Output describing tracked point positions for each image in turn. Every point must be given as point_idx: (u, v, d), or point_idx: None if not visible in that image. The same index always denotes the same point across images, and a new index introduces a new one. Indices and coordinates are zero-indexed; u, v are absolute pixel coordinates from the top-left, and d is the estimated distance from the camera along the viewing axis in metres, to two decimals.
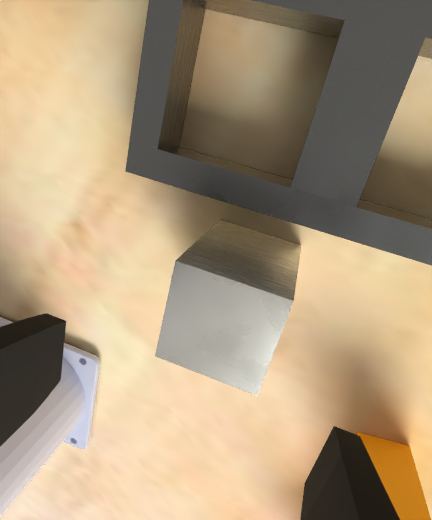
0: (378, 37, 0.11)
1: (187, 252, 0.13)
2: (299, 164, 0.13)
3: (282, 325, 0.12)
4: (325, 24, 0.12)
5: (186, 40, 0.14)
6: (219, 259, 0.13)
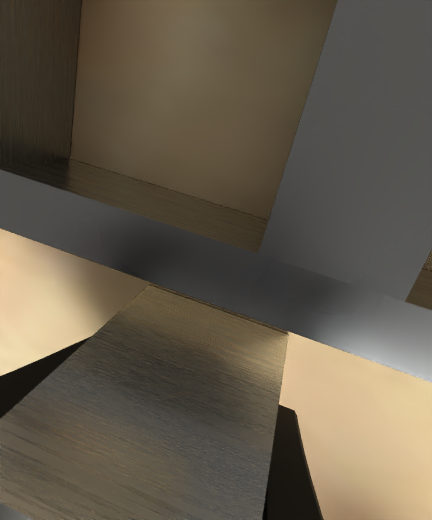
0: None
1: (7, 418, 0.05)
2: (277, 205, 0.06)
3: None
4: None
5: None
6: (84, 432, 0.05)
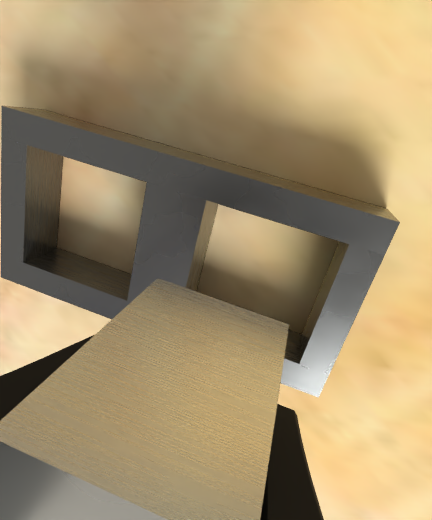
0: (173, 196, 0.14)
1: (38, 391, 0.06)
2: (131, 283, 0.16)
3: None
4: None
5: (41, 176, 0.16)
6: (107, 404, 0.06)
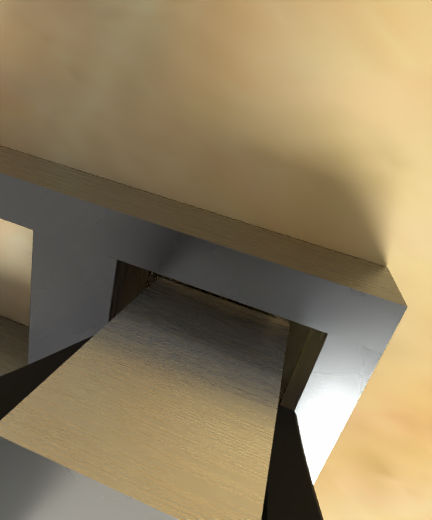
0: (70, 252, 0.09)
1: (40, 389, 0.06)
2: None
3: None
4: None
5: None
6: (109, 402, 0.06)
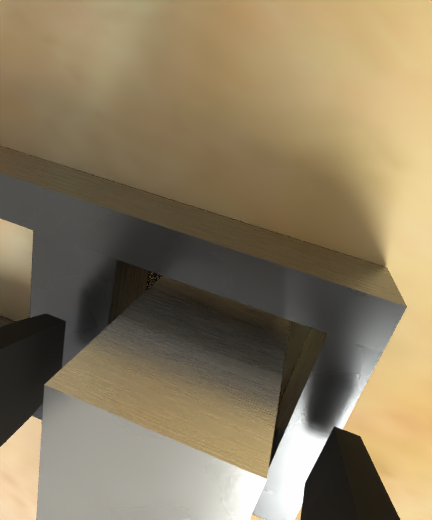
0: (70, 252, 0.09)
1: (81, 354, 0.07)
2: None
3: (247, 515, 0.06)
4: None
5: None
6: (139, 366, 0.07)
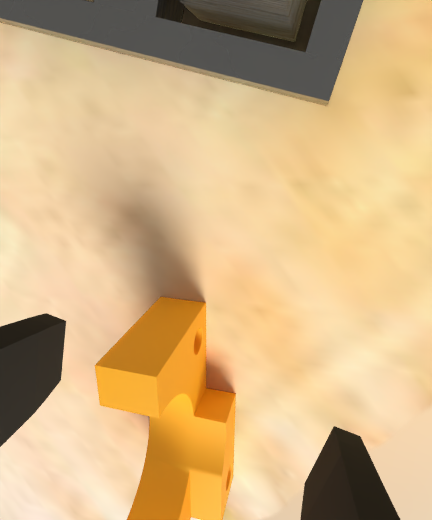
0: None
1: None
2: None
3: None
4: None
5: None
6: None
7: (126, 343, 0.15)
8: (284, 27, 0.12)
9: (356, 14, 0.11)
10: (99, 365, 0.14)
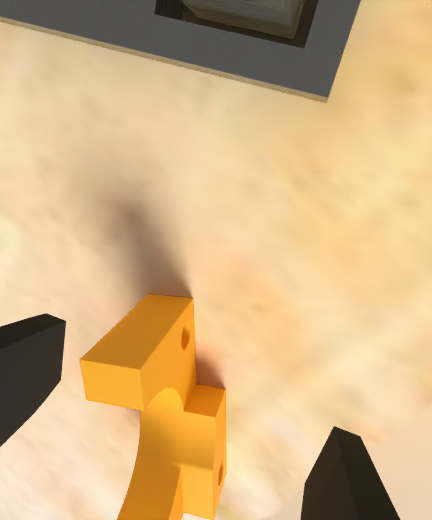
0: None
1: None
2: None
3: None
4: None
5: None
6: None
7: (112, 338, 0.15)
8: (283, 23, 0.12)
9: (355, 10, 0.11)
10: (84, 360, 0.14)
